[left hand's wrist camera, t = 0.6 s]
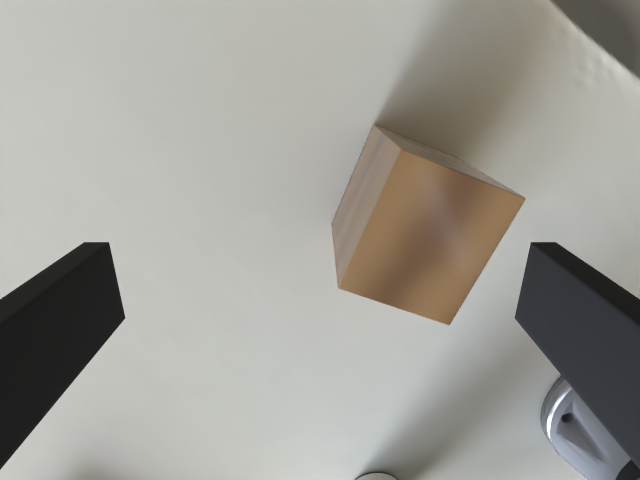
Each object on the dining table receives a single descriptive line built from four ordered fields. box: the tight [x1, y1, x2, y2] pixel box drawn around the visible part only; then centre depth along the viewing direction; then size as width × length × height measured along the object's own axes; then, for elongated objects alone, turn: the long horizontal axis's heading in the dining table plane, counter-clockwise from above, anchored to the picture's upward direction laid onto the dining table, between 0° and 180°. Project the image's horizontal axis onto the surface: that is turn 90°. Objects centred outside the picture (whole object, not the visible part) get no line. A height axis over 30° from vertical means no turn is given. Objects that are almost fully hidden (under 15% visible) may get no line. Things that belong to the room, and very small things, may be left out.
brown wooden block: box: [332, 125, 525, 325], centre depth 28 cm, size 8×9×11 cm
